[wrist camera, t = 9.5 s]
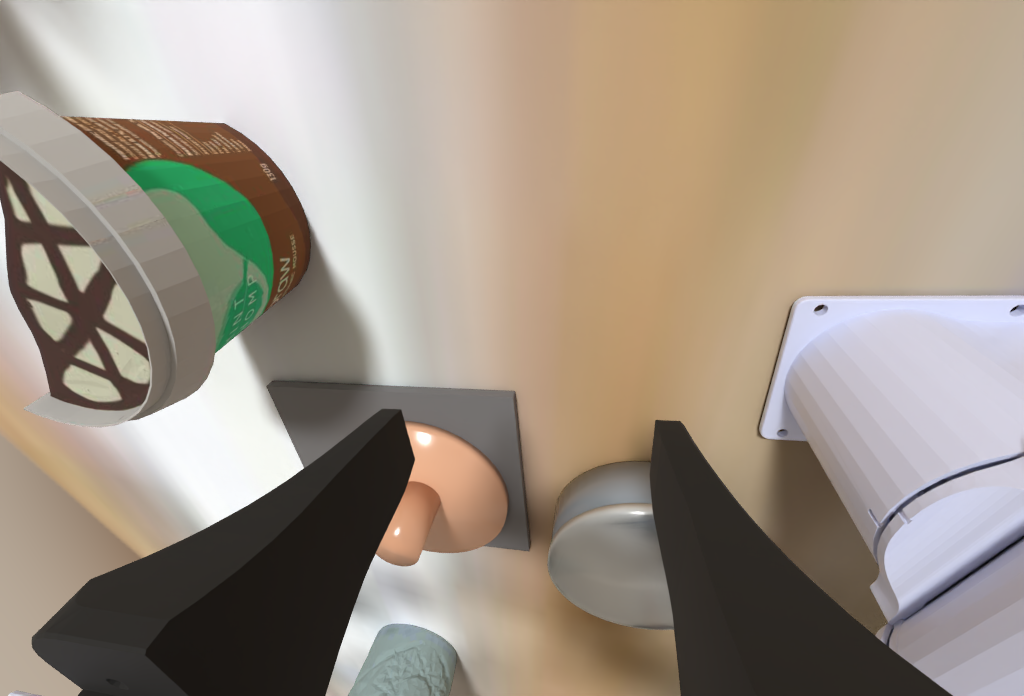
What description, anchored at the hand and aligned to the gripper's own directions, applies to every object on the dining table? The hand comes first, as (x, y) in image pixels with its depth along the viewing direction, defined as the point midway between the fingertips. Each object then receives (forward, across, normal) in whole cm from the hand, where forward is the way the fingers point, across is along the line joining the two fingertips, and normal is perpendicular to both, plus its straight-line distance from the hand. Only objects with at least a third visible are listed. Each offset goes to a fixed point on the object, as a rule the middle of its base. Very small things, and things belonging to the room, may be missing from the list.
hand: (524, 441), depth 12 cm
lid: (+10, +10, +14) cm, 20 cm away
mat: (+10, +10, +13) cm, 20 cm away
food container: (+11, +14, -3) cm, 18 cm away
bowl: (+10, -5, +16) cm, 20 cm away
